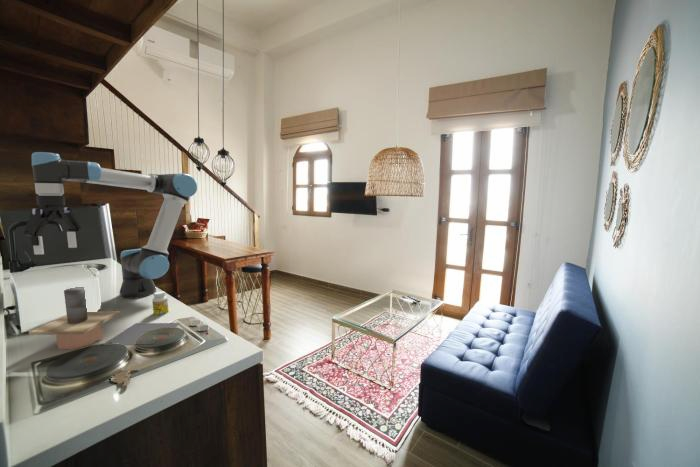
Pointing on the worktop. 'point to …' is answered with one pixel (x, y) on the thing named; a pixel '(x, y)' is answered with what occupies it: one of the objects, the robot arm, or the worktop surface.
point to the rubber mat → (137, 332)
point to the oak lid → (75, 316)
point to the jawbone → (123, 378)
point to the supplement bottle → (160, 303)
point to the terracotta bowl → (79, 339)
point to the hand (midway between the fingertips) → (57, 250)
